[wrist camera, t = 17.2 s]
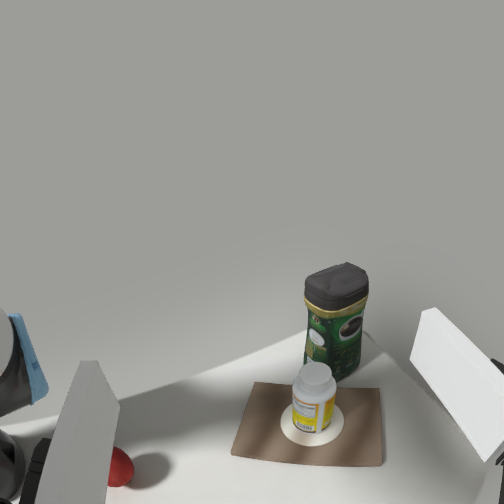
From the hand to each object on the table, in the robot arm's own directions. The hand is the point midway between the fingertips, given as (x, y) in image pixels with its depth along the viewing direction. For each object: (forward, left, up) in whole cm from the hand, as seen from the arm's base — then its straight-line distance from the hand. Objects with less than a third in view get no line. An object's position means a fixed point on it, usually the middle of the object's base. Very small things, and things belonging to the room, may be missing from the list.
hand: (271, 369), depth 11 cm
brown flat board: (+1, +19, -30) cm, 35 cm away
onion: (-22, +3, -30) cm, 37 cm away
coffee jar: (+3, +32, -30) cm, 44 cm away
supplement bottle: (+1, +18, -29) cm, 34 cm away
